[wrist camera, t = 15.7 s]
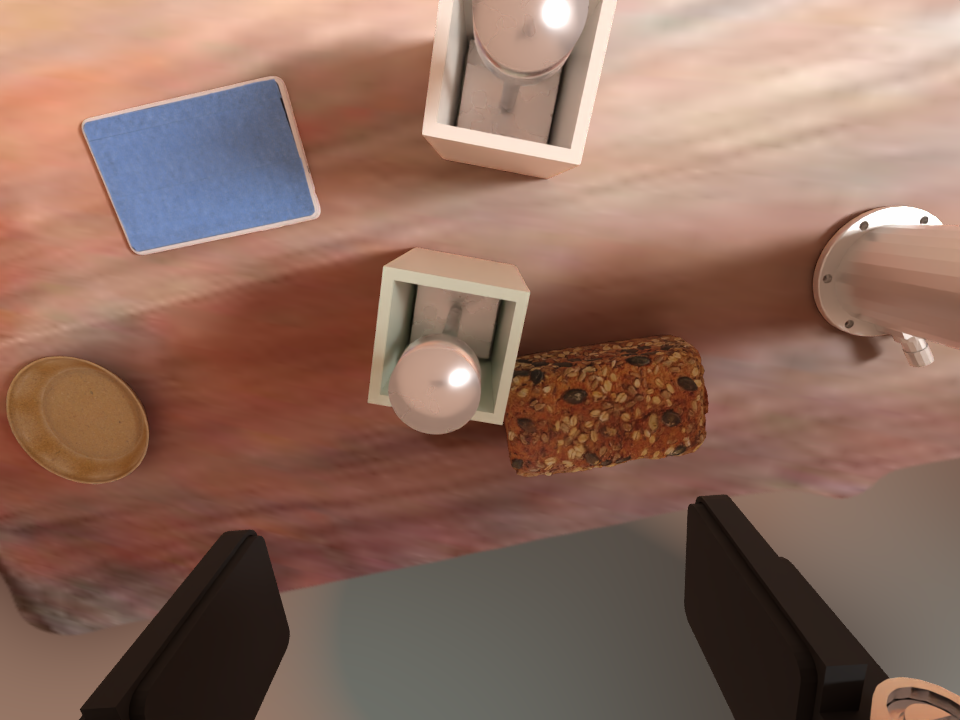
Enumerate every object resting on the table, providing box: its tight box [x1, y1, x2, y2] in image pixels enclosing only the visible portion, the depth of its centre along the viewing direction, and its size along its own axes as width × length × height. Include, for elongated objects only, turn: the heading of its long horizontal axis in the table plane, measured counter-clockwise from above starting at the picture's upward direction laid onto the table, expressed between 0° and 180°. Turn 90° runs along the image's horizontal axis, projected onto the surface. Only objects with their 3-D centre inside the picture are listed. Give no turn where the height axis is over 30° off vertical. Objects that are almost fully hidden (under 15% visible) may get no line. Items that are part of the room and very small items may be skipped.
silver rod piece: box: [388, 285, 499, 434], centre depth 36 cm, size 8×8×21 cm
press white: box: [422, 0, 617, 179], centre depth 36 cm, size 10×10×16 cm
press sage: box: [368, 247, 530, 425], centre depth 41 cm, size 10×10×16 cm
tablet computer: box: [82, 76, 321, 255], centre depth 45 cm, size 19×13×1 cm, turn 101°
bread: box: [504, 335, 708, 477], centre depth 47 cm, size 19×11×10 cm, turn 98°
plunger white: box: [457, 0, 589, 144], centre depth 30 cm, size 8×8×21 cm
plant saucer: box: [6, 356, 149, 484], centre depth 52 cm, size 15×15×3 cm
